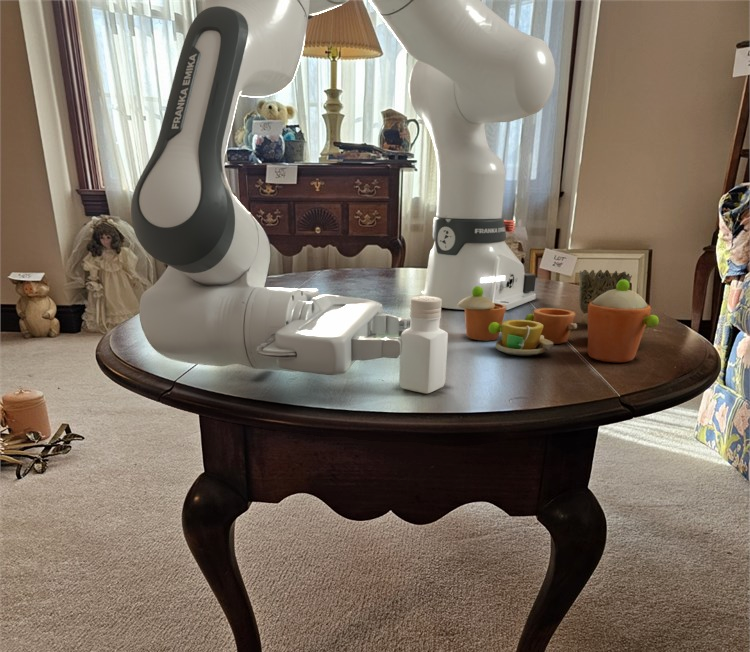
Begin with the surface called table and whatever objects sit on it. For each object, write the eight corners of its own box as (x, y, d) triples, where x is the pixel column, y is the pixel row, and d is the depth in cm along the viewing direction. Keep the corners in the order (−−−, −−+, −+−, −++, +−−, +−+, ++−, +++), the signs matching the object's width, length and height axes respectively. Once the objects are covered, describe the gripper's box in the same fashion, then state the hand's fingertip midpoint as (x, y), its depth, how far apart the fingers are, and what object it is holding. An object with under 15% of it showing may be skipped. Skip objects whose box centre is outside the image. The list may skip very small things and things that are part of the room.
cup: (625, 333, 97) (635, 277, 94) (573, 330, 98) (582, 274, 95) (618, 323, 104) (628, 270, 100) (570, 320, 105) (578, 268, 101)
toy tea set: (640, 339, 94) (654, 268, 89) (663, 368, 80) (681, 286, 76) (458, 330, 98) (463, 262, 93) (450, 356, 84) (455, 277, 80)
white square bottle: (396, 389, 71) (399, 299, 67) (416, 380, 74) (419, 294, 70) (428, 396, 69) (433, 303, 65) (446, 387, 72) (452, 298, 68)
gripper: (246, 320, 61) (391, 328, 59) (310, 286, 79) (423, 291, 77) (251, 385, 64) (390, 395, 62) (311, 338, 82) (420, 344, 80)
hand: (408, 337), depth 69 cm, fingers open, 8 cm apart
